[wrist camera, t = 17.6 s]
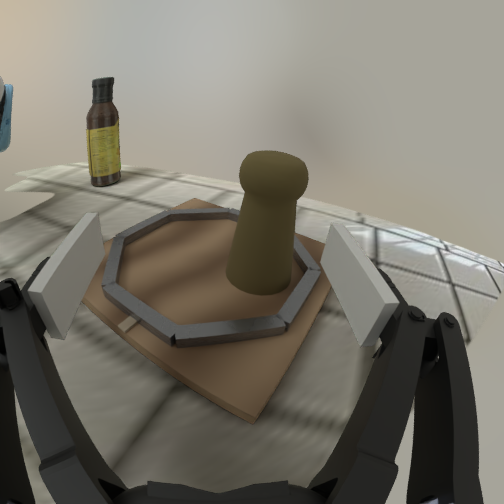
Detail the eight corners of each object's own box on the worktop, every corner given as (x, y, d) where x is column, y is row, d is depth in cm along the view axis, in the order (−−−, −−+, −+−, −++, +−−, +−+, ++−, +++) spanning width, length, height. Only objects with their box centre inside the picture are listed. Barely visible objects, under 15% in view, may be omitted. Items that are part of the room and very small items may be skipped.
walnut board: (60, 279, 22) (56, 268, 21) (194, 205, 39) (194, 196, 38) (253, 424, 14) (256, 416, 13) (343, 260, 31) (347, 250, 30)
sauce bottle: (127, 179, 46) (128, 75, 35) (101, 189, 41) (99, 76, 30) (108, 174, 48) (108, 78, 37) (84, 184, 43) (81, 81, 32)
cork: (301, 271, 26) (328, 159, 20) (269, 306, 22) (297, 170, 16) (249, 247, 28) (263, 142, 23) (211, 274, 24) (218, 149, 18)
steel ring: (72, 269, 22) (70, 260, 21) (195, 203, 37) (196, 196, 36) (247, 391, 15) (248, 384, 14) (333, 252, 30) (336, 245, 29)
